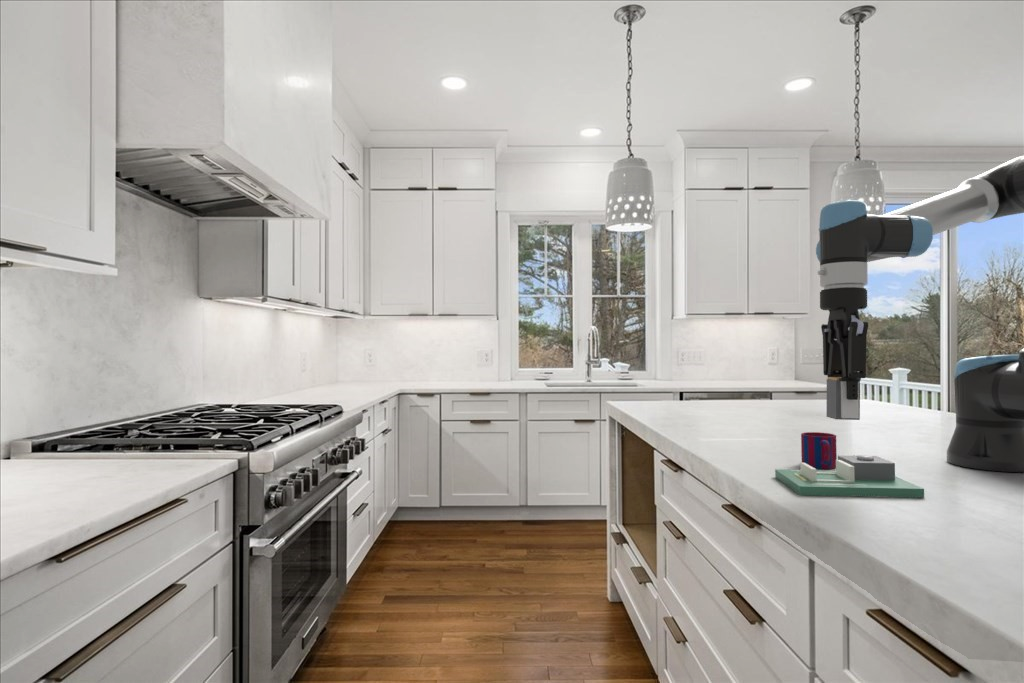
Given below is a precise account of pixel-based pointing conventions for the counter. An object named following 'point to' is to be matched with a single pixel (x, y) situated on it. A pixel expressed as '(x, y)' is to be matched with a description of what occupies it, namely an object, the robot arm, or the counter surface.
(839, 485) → the board
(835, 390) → the grey upright block
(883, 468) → the grey box with tab
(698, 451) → the counter surface
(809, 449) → the mug
